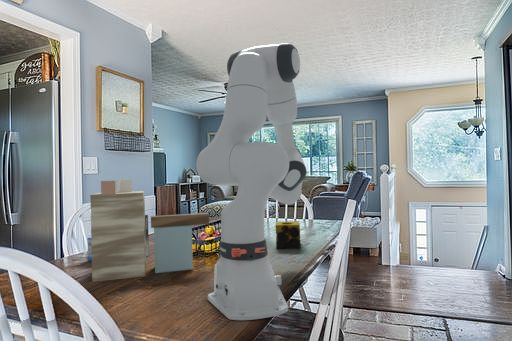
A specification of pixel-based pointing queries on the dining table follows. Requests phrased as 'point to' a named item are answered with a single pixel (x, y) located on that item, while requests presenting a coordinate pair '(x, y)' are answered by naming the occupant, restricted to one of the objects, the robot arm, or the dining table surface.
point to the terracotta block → (108, 187)
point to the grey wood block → (118, 235)
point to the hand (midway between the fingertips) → (227, 159)
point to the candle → (288, 235)
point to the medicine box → (89, 249)
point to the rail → (179, 220)
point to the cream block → (124, 185)
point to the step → (173, 248)
